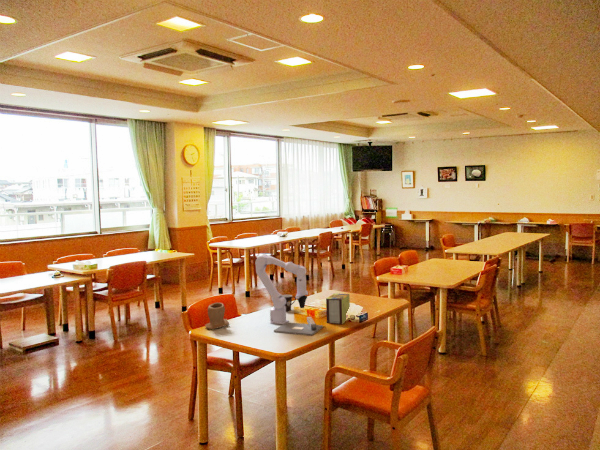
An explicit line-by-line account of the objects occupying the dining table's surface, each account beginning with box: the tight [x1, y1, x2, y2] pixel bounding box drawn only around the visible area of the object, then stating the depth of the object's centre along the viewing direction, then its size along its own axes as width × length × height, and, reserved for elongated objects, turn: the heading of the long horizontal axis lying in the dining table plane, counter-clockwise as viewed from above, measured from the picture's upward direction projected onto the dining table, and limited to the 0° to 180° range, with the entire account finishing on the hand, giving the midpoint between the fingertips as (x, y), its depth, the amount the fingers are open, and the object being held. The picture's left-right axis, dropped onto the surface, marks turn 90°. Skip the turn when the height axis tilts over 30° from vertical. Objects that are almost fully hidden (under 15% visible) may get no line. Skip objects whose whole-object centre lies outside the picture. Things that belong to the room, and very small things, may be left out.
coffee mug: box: [281, 294, 297, 312], centre depth 344 cm, size 12×9×10 cm
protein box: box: [325, 292, 351, 325], centre depth 314 cm, size 10×15×16 cm
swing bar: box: [306, 316, 317, 330], centre depth 300 cm, size 18×3×3 cm, turn 8°
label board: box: [273, 321, 324, 337], centre depth 297 cm, size 24×18×1 cm
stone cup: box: [204, 302, 230, 330], centre depth 307 cm, size 15×12×15 cm
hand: (302, 307), depth 310 cm, fingers closed
